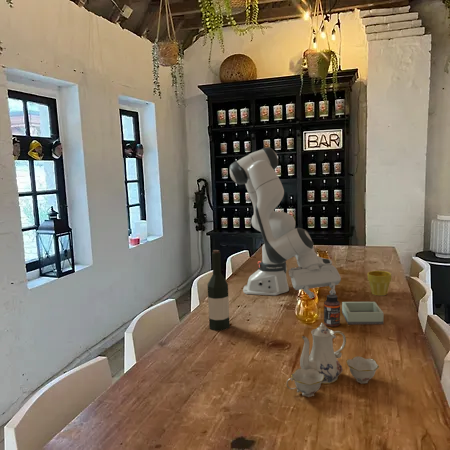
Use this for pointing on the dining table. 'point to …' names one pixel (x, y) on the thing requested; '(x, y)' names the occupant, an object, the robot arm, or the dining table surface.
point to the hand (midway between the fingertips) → (323, 295)
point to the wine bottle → (218, 296)
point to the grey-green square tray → (362, 313)
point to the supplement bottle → (332, 311)
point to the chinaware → (327, 363)
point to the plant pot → (379, 282)
